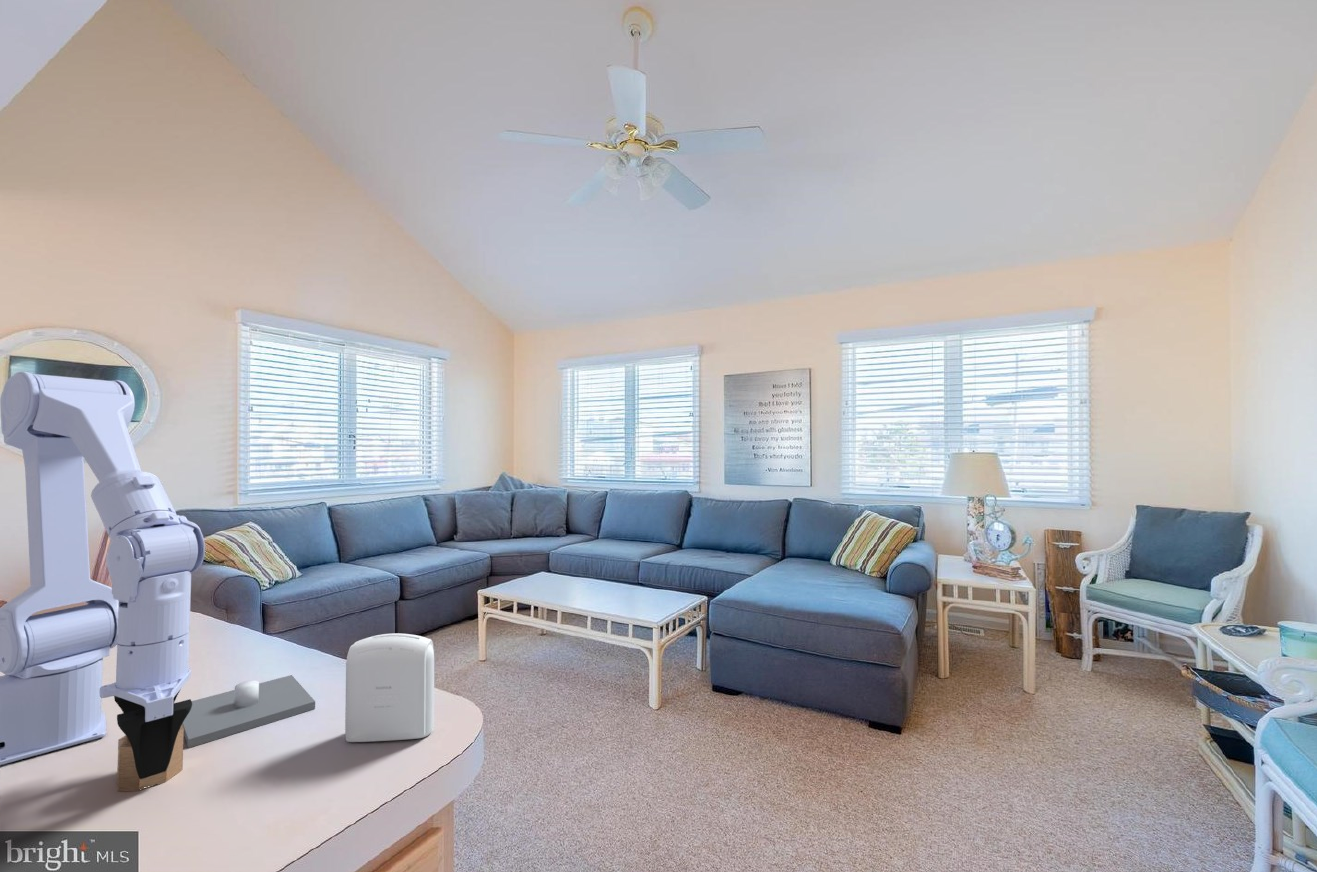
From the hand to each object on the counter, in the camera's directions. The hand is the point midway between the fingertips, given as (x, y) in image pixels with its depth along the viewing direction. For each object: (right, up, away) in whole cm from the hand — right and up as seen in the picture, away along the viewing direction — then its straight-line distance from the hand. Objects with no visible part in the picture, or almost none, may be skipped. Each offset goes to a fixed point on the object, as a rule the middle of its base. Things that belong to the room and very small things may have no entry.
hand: (150, 762), depth 57 cm
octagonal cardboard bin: (0, -1, 0) cm, 1 cm away
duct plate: (-1, -2, +14) cm, 14 cm away
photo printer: (+22, -2, +9) cm, 23 cm away
